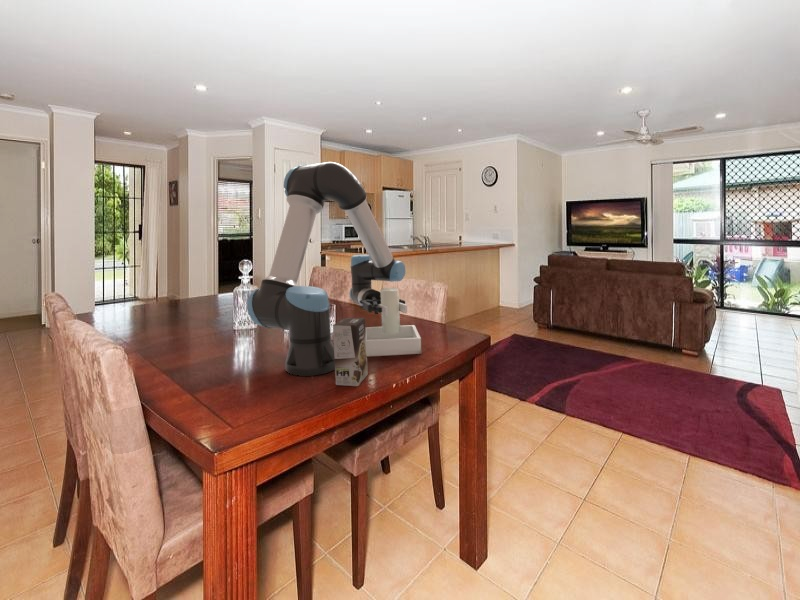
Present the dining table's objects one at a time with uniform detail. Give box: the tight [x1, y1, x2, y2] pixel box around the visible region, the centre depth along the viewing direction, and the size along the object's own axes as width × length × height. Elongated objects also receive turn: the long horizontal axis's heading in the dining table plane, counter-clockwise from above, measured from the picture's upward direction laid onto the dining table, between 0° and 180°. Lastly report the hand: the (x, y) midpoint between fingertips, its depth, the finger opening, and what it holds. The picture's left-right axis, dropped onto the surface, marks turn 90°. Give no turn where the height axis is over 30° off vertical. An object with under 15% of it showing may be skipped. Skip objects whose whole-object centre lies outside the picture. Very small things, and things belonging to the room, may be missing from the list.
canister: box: [379, 287, 401, 334], centre depth 143 cm, size 6×6×14 cm
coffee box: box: [332, 317, 368, 387], centre depth 114 cm, size 9×6×16 cm
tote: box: [365, 324, 422, 357], centre depth 144 cm, size 18×18×5 cm
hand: (396, 310), depth 138 cm, fingers closed on canister, 6 cm apart
